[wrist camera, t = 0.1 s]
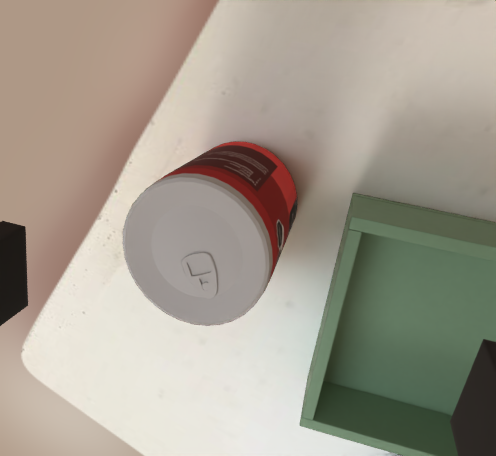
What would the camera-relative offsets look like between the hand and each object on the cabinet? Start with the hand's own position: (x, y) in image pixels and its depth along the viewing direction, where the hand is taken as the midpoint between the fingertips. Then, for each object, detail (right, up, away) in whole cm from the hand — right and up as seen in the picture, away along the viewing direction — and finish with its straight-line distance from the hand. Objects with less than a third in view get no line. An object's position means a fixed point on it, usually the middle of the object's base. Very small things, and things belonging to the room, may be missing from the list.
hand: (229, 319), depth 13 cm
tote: (+14, -4, +19) cm, 24 cm away
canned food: (0, +5, +20) cm, 20 cm away
